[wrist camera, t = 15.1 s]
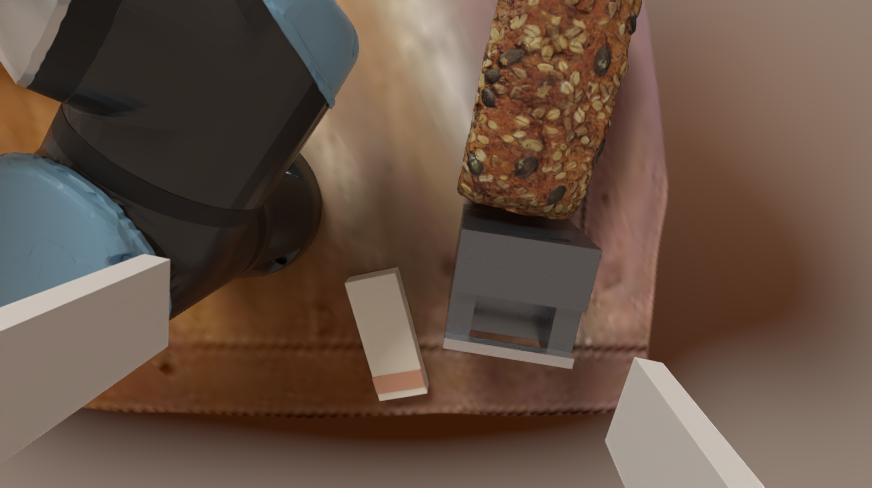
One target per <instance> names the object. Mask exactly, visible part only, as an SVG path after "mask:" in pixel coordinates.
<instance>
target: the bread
mask: <svg viewBox="0 0 872 488" xmlns="http://www.w3.org/2000/svg"><path fill="white" fill-rule="evenodd" d="M641 5H642V0H498V3H497V8H496V12H495V15H494V19H493V22H492V25H491V31H490V39H489V41H488V43H487V46H486V50H485V53H484V57H483V58H484V59H483V63H482V69H481V72H480V76H479V85H478V90H477V92H476V98H475V106H474V110H473V113H472V123H471V128H470V133H469V135H468V138H467V143H466V148H465V154H464V158H463V165H462V170H461V174H460V177H459V181H458V188H457V190H458V193H459V194H460V195H462V196H464V197H466V198H468V199H469V200H471V201H473V202H475V203H480V204H485V205H489V206H492V207H498V208H503V209H505V210H507V211H511V212H514V213H517V214H522V215H529V216H533V215H536V216H543V217H546V218H549V219H561V220H564V219H568V218H569V217H571V216H572V215H573V214H574V213H575V212H576V211H577V209H578V207H579V204H580V202H581V201H582V199H583V197H584V196H585V194H586V187H587V186H588V184H589V182H590V180H591V179H592V173H593V166H594V164H595V163H596V162H597V160H598V157H599V156H600V154H601V153H602V150H603V147H604V144H605V138H604V137H605V135H606V134H607V131H608V129H609V127H610V125H611V122H610V118H611V117H612V115H613V108H614V105H615V104H616V101H615V95H616V93H617V89H618V87H619V85H620V83H621V82H620V81H621V80H622V78H623V76H624V75H625V74H626V72H627V70H628V67H629V66H628V62H627V60H628V47H629V43H630V38H631V35H632V34H633V33H634V32H635V29H636V18H637V17H638V15H639V12H640V8H641Z"/></svg>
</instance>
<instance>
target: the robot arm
mask: <svg viewBox="0 0 872 488" xmlns="http://www.w3.org/2000/svg"><path fill="white" fill-rule="evenodd" d="M358 53H359V42H358V37H357V33H356V31H355V28H354V27H353V25H352V23H351V21H350V20H349V18H348V17H347V15H346V14H345V13H344V11H343V10H342V9H341V8H340V6H339V5H338V4H337V2H336V1H335V0H0V61H1V63H2V64H3V66H4V67H5V69H6V70H7V72H8V73H9V74H10V76H11V77H12V79H13V80H14V82H15V83H16V84H17V85H19V86H22V87H24V88H27V89H29V90H32V91H34V92H37V93H39V94H42V95H44V96H47V97H49V98H52V99H54V100H57V101H59V102H62V103H61V105H60V107H59V109H58V111H57V114H56V116H55V118H54V120H53V122H52V124H51V126H50V128H49V130H48V132H47V134H46V136H45V138H44V140H43V143H42V145H41V146H40V148H39V149H38V150H37V151H36V152H35V153H34V154H32V153H15V152H14V153H6V154H2V155H1V156H0V464H2V463H3V462H4V461H6V460H7V459H9V458H10V457H11V456H13V455H14V454H16V453H17V452H19V451H20V450H22V449H23V448H24V447H26V446H27V445H29V444H30V443H31V442H33V441H34V440H36V439H37V438H39V437H40V436H41V435H43V434H44V433H46V432H47V431H48V430H50V429H51V428H53V427H54V426H56V425H57V424H58V423H60V422H61V421H63V420H64V419H65V418H67V417H68V416H70V415H71V414H72V413H74V412H75V411H77V410H78V409H80V408H81V407H83V406H84V405H85V404H87V403H88V402H90V401H91V400H92V399H94V398H95V397H97V396H98V395H100V394H101V393H102V392H104V391H105V390H107V389H108V388H109V387H111V386H112V385H114V384H115V383H117V382H118V381H119V380H121V379H122V378H124V377H125V376H126V375H128V374H129V373H131V372H132V371H134V370H135V369H136V368H138V367H139V366H141V365H142V364H143V363H145V362H146V361H148V360H149V359H151V358H152V357H153V356H155V355H156V354H158V353H159V352H160V351H162V350H163V349H165V348H166V347H168V331H169V320H171V319H173V318H174V317H176V316H177V315H179V314H180V313H182V312H183V311H185V310H186V309H188V308H190V307H191V306H193V305H194V304H196V303H197V302H199V301H200V300H202V299H203V298H205V297H206V296H208V295H210V294H211V293H213V292H214V291H216V290H217V289H219V288H220V287H222V286H223V285H225V284H227V283H228V282H230V281H231V280H233V279H234V278H246V277H258V276H264V275H268V274H271V273H274V272H276V271H278V270H280V269H282V268H284V267H286V266H287V265H289V264H290V263H291V262H293V261H294V260H295V259H297V258H298V257H299V256H300V255H301V254H303V252H304V251H305V250H306V249H307V248H308V247H309V245H310V244H311V242H312V240H313V239H314V237H315V234H316V232H317V229H318V226H319V222H320V216H321V198H320V192H319V188H318V184H317V181H316V178H315V176H314V174H313V172H312V170H311V168H310V166H309V165H308V163H307V162H306V160H305V159H304V157H303V156H302V155H301V154H300V153H299V152H300V151H301V149H302V148H303V146H304V145H305V143H306V142H307V140H308V139H309V137H310V136H311V134H312V133H313V131H314V130H315V128H316V127H317V125H318V124H319V122H320V121H321V119H322V118H323V116H324V115H325V113H326V112H327V110H328V109H332V108H333V106H334V105H335V97H336V95H337V93H338V91H339V90H340V88H341V86H342V85H343V83H344V81H345V79H346V78H347V76H348V74H349V73H350V71H351V69H352V68H353V66H354V64H355V62H356V60H357V57H358ZM605 442H606V445H607V447H608V449H609V451H610V454H611V456H612V458H613V461H614V463H615V465H616V468H617V470H618V472H619V475H620V477H621V479H622V482H623V484H624V486H625V488H765V487H764V486H763V485H762V483H761V482H760V481H759V480H758V479H757V478H756V476H755V475H754V474H753V472H752V471H751V470H750V469H749V468H748V466H747V465H746V464H745V463H744V462H743V460H742V459H741V458H740V457H739V455H738V454H737V453H736V452H735V451H734V449H733V448H732V447H731V446H730V444H729V443H728V442H727V441H726V440H725V438H724V437H723V436H722V435H721V434H720V432H719V431H718V430H717V429H716V428H715V427H714V425H713V424H712V423H711V421H710V420H709V419H708V418H707V417H706V415H705V414H704V413H703V412H702V410H700V408H699V407H698V406H697V404H696V403H695V402H694V401H693V400H692V398H691V397H690V396H689V395H688V394H687V392H686V391H685V390H684V389H683V387H682V386H681V385H680V384H679V383H678V381H677V380H676V379H675V378H674V377H673V375H672V374H671V373H670V372H669V370H668V369H667V368H666V367H665V366H664V364H663V363H660V362H655V361H650V360H646V359H641V358H636V357H634V360H633V363H632V365H631V368H630V371H629V374H628V377H627V380H626V383H625V385H624V388H623V391H622V394H621V397H620V400H619V402H618V405H617V408H616V411H615V414H614V417H613V419H612V423H611V425H610V428H609V431H608V434H607V437H606V439H605Z"/></svg>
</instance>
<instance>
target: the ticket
mask: <svg viewBox="0 0 872 488" xmlns="http://www.w3.org/2000/svg"><path fill="white" fill-rule="evenodd" d="M345 287H346V290H347V293H348V297H349V300H350V303H351V307H352V310H353V314H354V317H355V320H356V324H357V327H358V330H359V334H360V337H361V340H362V344H363V347H364V350H365V354H366V357H367V360H368V364H369V367H370V371H371V374H372V380H373V383H374V386H375V390H376V393H377V394H378V397H379V401H383V400H389V399H396V398H402V397H408V396H414V395H420V394H427V392H428V386H429V382H428V378H427V374H426V370H425V366H424V363H423V359H422V355H421V351H420V347H419V344H418V340H417V336H416V332H415V328H414V325H413V321H412V317H411V313H410V309H409V306H408V302H407V298H406V294H405V290H404V287H403V283H402V279H401V275H400V271H399V268H398V267H396V268H391V269H386V270H381V271H376V272H371V273H366V274H361V275H356V276H351V277H349V278H348V279H347V281H346V282H345Z"/></svg>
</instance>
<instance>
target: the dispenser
mask: <svg viewBox="0 0 872 488" xmlns="http://www.w3.org/2000/svg"><path fill="white" fill-rule="evenodd" d="M601 253H602V250H601V249H600V248H599V247H598V246H597V245H596V244H595V243H593V242H592V241H591V240H590V239H589V238H588V237H587V236H586V235H585V234H584V233H582V232H581V231H580V230H579V229H578V228H577V227H576V226H575V225H574V224H573V223H571V222H570V221H569V220H568V219H564V220H561V219H549V218H546V217H543V216H536V215H533V216H529V215H522V214H517V213H514V212H511V211H507V210H502V209H495V208H488V207H482V206H475V205H468V204H464V205H463V212H462V218H461V224H460V231H459V237H458V243H457V250H456V256H455V262H454V269H453V275H452V281H451V288H450V294H449V301H448V310H447V318H446V327H445V335H444V343H443V348H445V349H451V350H457V351H464V352H470V353H476V354H482V355H488V356H494V357H500V358H507V359H513V360H519V361H525V362H531V363H537V364H543V365H550V366H556V367H562V368H568V369H572V367H573V363H574V357H573V355H572V349H573V345H574V341H575V337H576V333H577V329H578V325H579V321H580V317H581V313H582V312H587V308H588V304H589V300H590V296H591V292H592V288H593V284H594V280H595V276H596V272H597V268H598V265H599V261H600V257H601ZM470 330H475V331H482V332H488V333H494V334H500V335H507V336H513V337H519V338H525V339H531V340H538V341H539V343H540V346H541V348H539V347H532V346H526V345H520V344H514V343H508V342H501V341H495V340H489V339H483V338H477V337H471V336H469V335H470Z"/></svg>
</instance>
